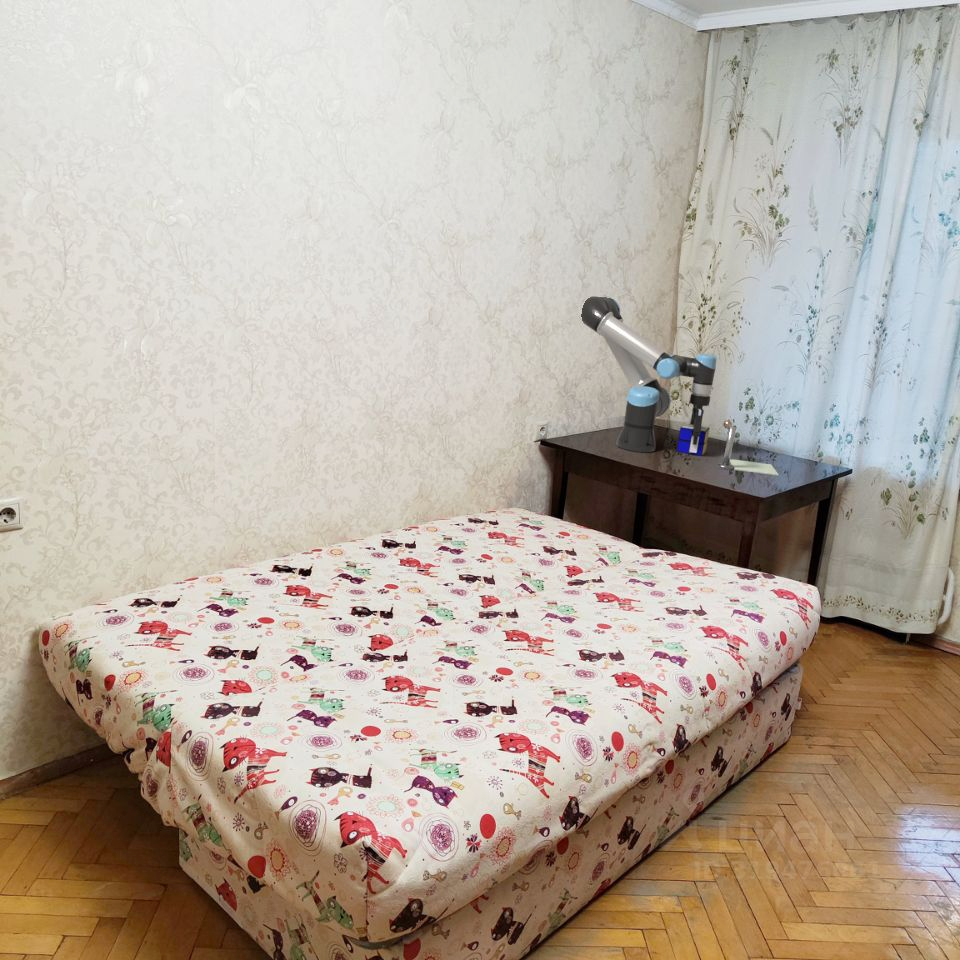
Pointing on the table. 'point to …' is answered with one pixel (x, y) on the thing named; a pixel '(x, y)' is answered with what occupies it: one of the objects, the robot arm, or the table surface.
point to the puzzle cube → (686, 439)
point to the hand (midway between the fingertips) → (691, 449)
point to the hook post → (728, 446)
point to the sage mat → (753, 467)
